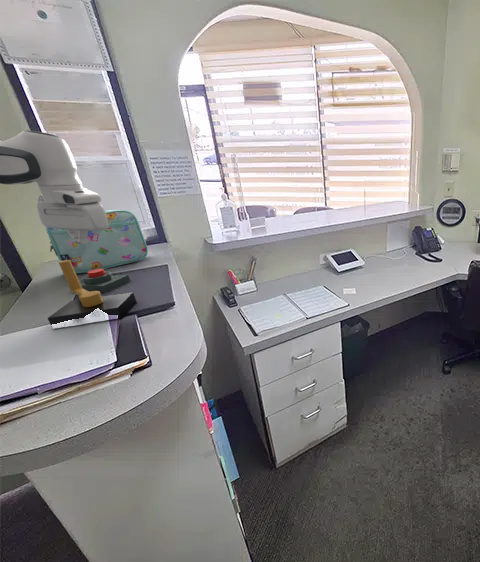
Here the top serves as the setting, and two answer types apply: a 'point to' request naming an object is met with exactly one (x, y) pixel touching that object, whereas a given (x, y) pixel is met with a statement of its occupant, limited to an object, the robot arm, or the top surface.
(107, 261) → the lunch box
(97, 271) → the red button
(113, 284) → the control box
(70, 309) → the valve block
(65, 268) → the crank handle
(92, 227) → the robot arm
